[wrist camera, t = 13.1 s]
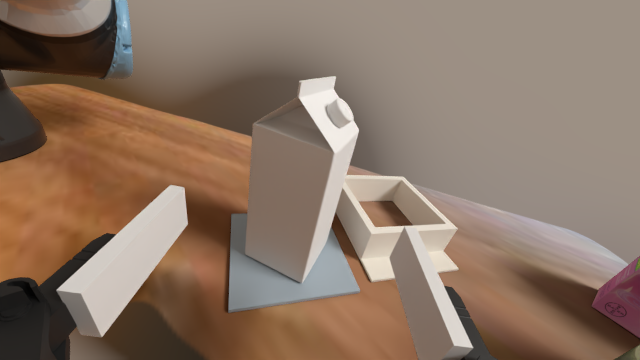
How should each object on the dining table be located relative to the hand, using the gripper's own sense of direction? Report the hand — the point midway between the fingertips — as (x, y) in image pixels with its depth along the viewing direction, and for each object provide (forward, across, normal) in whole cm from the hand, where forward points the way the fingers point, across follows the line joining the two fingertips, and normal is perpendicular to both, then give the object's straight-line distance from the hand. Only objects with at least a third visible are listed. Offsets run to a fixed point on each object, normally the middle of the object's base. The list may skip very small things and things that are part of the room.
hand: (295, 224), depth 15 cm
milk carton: (+9, 0, -12) cm, 15 cm away
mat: (+9, 0, -12) cm, 15 cm away
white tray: (+18, +13, -12) cm, 25 cm away
